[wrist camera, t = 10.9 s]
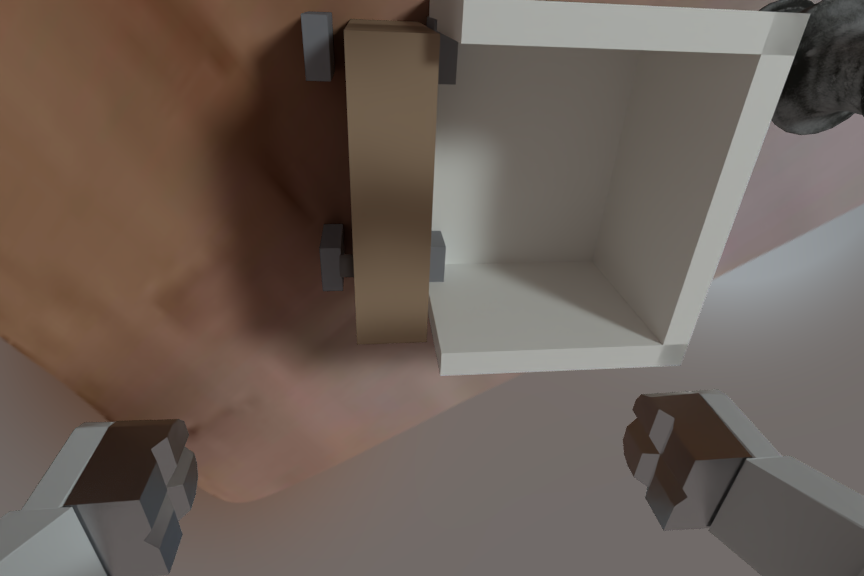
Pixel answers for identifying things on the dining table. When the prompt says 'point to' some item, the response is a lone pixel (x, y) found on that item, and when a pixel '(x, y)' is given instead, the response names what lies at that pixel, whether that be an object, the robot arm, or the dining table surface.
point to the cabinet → (582, 173)
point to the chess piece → (823, 67)
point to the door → (391, 175)
